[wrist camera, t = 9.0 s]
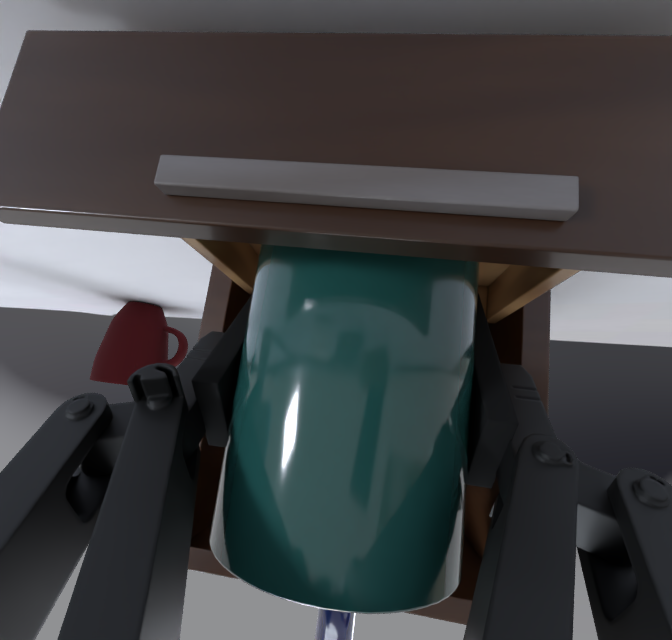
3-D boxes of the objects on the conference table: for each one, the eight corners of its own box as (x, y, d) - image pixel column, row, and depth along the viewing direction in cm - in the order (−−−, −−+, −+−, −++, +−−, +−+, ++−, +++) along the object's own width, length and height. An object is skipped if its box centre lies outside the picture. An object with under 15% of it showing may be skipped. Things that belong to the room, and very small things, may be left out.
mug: (169, 300, 43) (150, 388, 41) (207, 316, 50) (193, 391, 49) (93, 294, 45) (72, 377, 43) (141, 310, 53) (124, 381, 51)
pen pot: (225, 166, 11) (125, 654, 9) (468, 116, 8) (416, 850, 6) (328, 253, 17) (287, 558, 15) (491, 244, 14) (471, 627, 12)
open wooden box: (221, 220, 19) (152, 562, 16) (552, 244, 17) (544, 641, 14) (285, 293, 33) (254, 487, 30) (474, 312, 31) (461, 521, 28)
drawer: (8, 10, 8) (-59, 195, 7) (861, 10, 6) (904, 265, 5) (242, 257, 21) (228, 329, 21) (521, 281, 20) (519, 361, 19)
